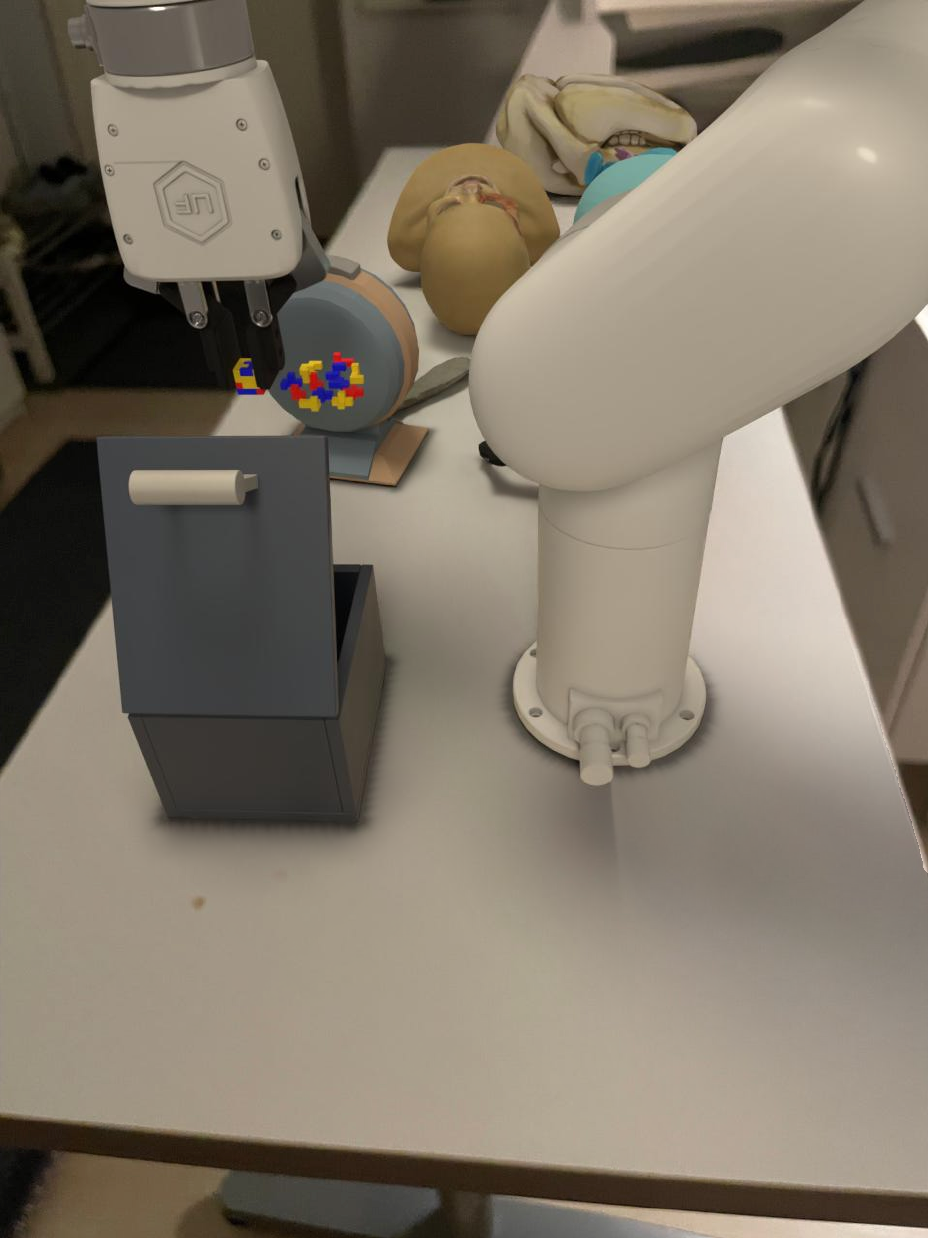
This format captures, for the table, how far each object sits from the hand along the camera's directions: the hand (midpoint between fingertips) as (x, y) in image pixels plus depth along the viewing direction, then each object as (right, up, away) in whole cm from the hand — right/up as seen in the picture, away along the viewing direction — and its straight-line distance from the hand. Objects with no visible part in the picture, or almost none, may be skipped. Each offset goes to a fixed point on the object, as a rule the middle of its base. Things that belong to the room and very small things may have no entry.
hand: (250, 378), depth 59 cm
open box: (+2, -23, +3) cm, 23 cm away
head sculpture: (+14, +38, +58) cm, 71 cm away
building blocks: (+3, -1, +1) cm, 3 cm away
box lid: (+1, -13, -10) cm, 16 cm away
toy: (+28, +13, +43) cm, 52 cm away
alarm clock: (+3, +1, +29) cm, 29 cm away
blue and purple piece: (+29, +38, +58) cm, 75 cm away
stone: (+11, +8, +35) cm, 37 cm away
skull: (+33, +61, +73) cm, 101 cm away
